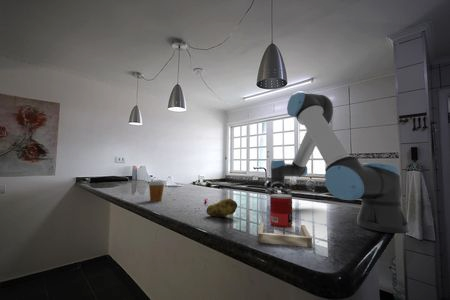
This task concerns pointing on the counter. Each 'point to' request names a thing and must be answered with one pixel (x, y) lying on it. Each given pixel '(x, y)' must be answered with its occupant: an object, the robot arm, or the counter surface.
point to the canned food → (281, 210)
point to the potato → (222, 208)
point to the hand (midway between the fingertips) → (279, 195)
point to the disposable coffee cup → (156, 190)
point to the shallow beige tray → (285, 237)
